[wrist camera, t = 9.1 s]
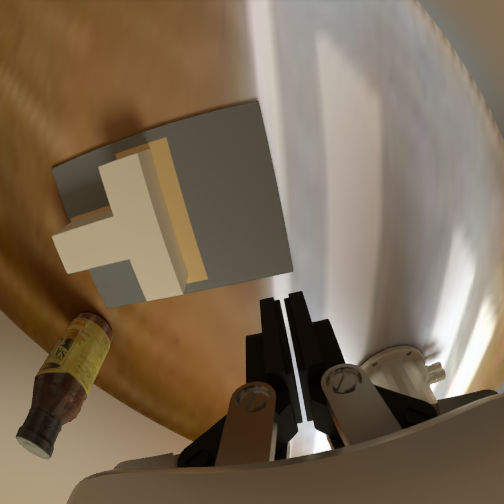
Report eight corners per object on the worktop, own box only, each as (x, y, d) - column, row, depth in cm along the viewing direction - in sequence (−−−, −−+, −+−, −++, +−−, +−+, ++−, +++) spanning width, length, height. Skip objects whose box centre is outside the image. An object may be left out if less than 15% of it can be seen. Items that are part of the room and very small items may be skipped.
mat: (258, 101, 26) (258, 101, 26) (293, 270, 34) (293, 271, 33) (53, 168, 28) (51, 168, 28) (107, 306, 35) (106, 308, 35)
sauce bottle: (87, 301, 35) (13, 422, 17) (123, 332, 37) (70, 461, 19) (66, 324, 36) (0, 433, 18) (99, 353, 38) (49, 468, 20)
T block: (150, 148, 28) (137, 153, 24) (188, 275, 33) (182, 294, 30) (55, 183, 28) (36, 192, 25) (98, 293, 34) (85, 311, 30)
